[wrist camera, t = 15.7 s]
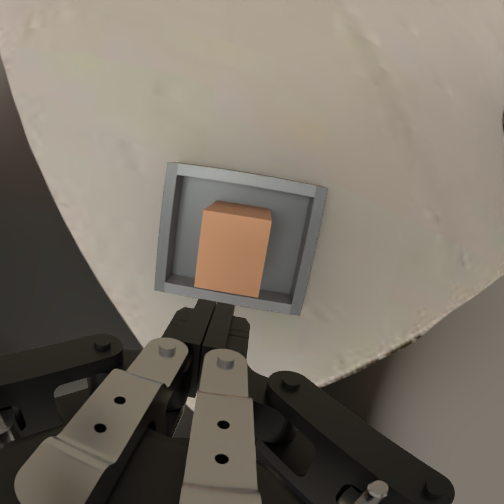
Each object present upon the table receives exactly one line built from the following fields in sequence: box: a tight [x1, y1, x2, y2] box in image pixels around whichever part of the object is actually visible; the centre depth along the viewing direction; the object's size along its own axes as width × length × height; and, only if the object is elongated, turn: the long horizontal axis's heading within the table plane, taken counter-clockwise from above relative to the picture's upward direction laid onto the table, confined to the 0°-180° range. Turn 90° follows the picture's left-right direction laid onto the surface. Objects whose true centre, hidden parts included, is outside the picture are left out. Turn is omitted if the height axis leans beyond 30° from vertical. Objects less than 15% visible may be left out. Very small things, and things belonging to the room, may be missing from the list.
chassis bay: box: [154, 162, 328, 316], centre depth 30 cm, size 14×12×4 cm
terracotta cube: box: [194, 200, 272, 298], centre depth 27 cm, size 5×6×7 cm
